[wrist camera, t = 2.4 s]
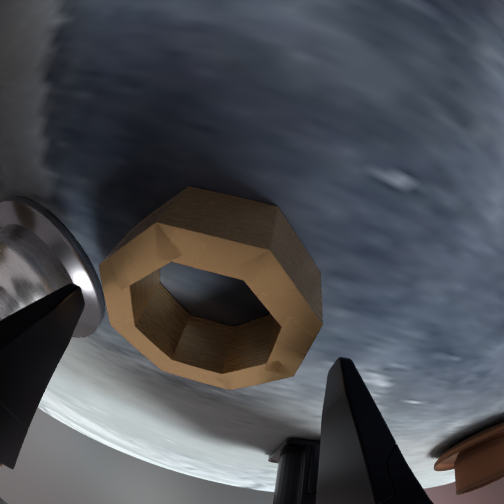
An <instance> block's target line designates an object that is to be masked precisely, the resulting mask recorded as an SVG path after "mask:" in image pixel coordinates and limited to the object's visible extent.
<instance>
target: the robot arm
mask: <svg viewBox="0 0 504 504" xmlns="http://www.w3.org/2000/svg"><path fill="white" fill-rule="evenodd" d="M84 307H85V301H84V297H83V293H82V289H81V287H80V286H78V285H76V284H73V283H70V284H67V285H65V286H63V287H61V288H59V289H58V290H56V291H54V292H52V293H50V294H48V295H46V296H44V297H42V298H40V299H38V300H37V301H35V302H33V303H31V304H29V305H27V306H25V307H24V308H22V309H20V310H18V311H16V312H14V313H13V314H11V315H9V316H7V317H5V318H4V319H2V320H0V463H2V464H3V465H5V466H7V467H9V468H11V469H14V467H15V464H16V461H17V458H18V455H19V452H20V449H21V447H22V444H23V442H24V439H25V436H26V434H27V431H28V428H29V426H30V424H31V421H32V419H33V416H34V414H35V412H36V409H37V407H38V405H39V403H40V400H41V398H42V396H43V394H44V392H45V390H46V387H47V385H48V383H49V381H50V379H51V377H52V375H53V373H54V371H55V369H56V367H57V365H58V363H59V361H60V359H61V357H62V355H63V354H64V352H65V350H66V348H67V346H68V344H69V342H70V340H71V337H72V335H73V333H74V330H75V328H76V326H77V323H78V321H79V319H80V316H81V314H82V312H83V310H84ZM268 461H269V462H273V463H279V464H278V472H277V479H276V485H275V492H274V499H273V504H433V502H432V501H431V500H430V499H429V497H428V496H427V494H426V493H425V491H424V489H423V488H422V486H421V485H420V483H419V482H418V480H417V479H416V477H415V476H414V474H413V472H412V471H411V469H410V467H409V466H408V464H407V462H406V461H405V459H404V457H403V455H402V453H401V451H400V449H399V447H398V445H397V444H396V442H395V440H394V438H393V436H392V434H391V432H390V430H389V428H388V426H387V424H386V422H385V421H384V419H383V417H382V415H381V413H380V411H379V409H378V407H377V406H376V404H375V402H374V400H373V398H372V396H371V394H370V392H369V391H368V389H367V387H366V385H365V383H364V381H363V380H362V378H361V376H360V374H359V372H358V371H357V369H356V367H355V365H354V363H353V361H352V360H351V359H349V358H343V357H339V358H338V359H337V360H336V362H335V363H334V364H333V366H332V367H331V369H330V370H329V373H328V376H327V384H326V391H325V398H324V404H323V411H322V421H321V442H317V441H308V440H299V439H287V440H285V441H284V442H283V443H282V444H281V445H280V446H279V447H278V448H277V449H276V450H275V451H274V452H273V453H272V454H271V455H270V456H269V459H268ZM0 504H7V503H6V502H5V501H4V500H3V499H1V498H0Z"/></svg>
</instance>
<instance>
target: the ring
mask: <svg viewBox="0 0 504 504" xmlns="http://www.w3.org/2000/svg"><path fill="white" fill-rule="evenodd" d="M171 261H172V262H175V263H179V264H183V265H186V266H190V267H194V268H198V269H202V270H205V271H209V272H213V273H217V274H221V275H225V276H229V277H233V278H237V279H241V280H244V282H245V283H246V284H247V285H248V286H249V288H250V289H251V290H252V291H253V293H254V294H255V295H256V296H257V298H258V299H259V300H260V301H261V302H262V304H263V305H264V306H265V307H266V308H267V310H268V311H269V312H270V313H271V314H270V315H267V316H264V317H261V318H258V319H256V320H253V321H250V322H247V323H244V324H241V325H238V326H235V327H233V326H229V325H226V324H222V323H218V322H214V321H210V320H207V319H203V318H199V317H196V316H192V315H190V314H189V313H188V312H187V311H186V310H185V309H184V308H183V307H182V306H181V305H180V304H179V303H178V302H177V301H176V300H175V299H174V297H173V296H172V295H171V294H170V293H169V292H168V291H167V290H166V289H165V288H164V287H163V286H162V285H161V283H160V268H161V267H163V266H164V265H166V264H168V263H170V262H171ZM99 269H100V275H101V281H102V286H103V292H104V297H105V302H106V307H107V311H108V316H109V320H110V324H111V326H112V327H113V328H114V329H115V330H117V331H118V332H119V333H120V334H121V335H122V336H123V337H124V338H125V339H126V340H127V341H128V342H129V343H131V344H132V345H133V346H134V347H135V348H136V349H137V350H138V351H140V352H141V353H142V354H143V355H144V356H145V357H146V358H148V359H149V360H150V361H151V362H152V363H154V364H155V365H156V366H157V367H158V368H160V369H161V370H162V371H165V372H168V373H171V374H175V375H178V376H181V377H184V378H188V379H191V380H195V381H198V382H202V383H205V384H209V385H213V386H217V387H221V388H225V389H229V390H232V389H237V388H242V387H248V386H253V385H257V384H262V383H267V382H271V381H275V380H280V379H284V378H288V377H292V376H294V375H295V373H296V371H297V370H298V368H299V366H300V365H301V363H302V361H303V359H304V358H305V356H306V354H307V352H308V351H309V349H310V347H311V345H312V343H313V342H314V340H315V338H316V336H317V334H318V333H319V331H320V329H321V327H322V325H323V321H322V293H321V273H320V271H319V269H318V268H317V266H316V265H315V263H314V261H313V260H312V258H311V257H310V255H309V254H308V252H307V250H306V249H305V247H304V246H303V244H302V243H301V241H300V239H299V238H298V236H297V235H296V233H295V232H294V230H293V229H292V227H291V226H290V224H289V222H288V221H287V219H286V218H285V216H284V215H283V213H282V212H281V210H280V209H279V207H278V206H274V205H270V204H266V203H262V202H258V201H254V200H249V199H245V198H241V197H237V196H232V195H228V194H223V193H219V192H215V191H210V190H205V189H201V188H196V187H192V186H188V187H187V188H185V189H184V190H183V191H181V192H180V193H178V194H177V195H175V196H174V197H173V198H171V199H170V200H168V201H167V202H166V203H164V204H163V205H162V206H160V207H159V208H157V209H156V210H155V211H153V212H152V213H151V214H149V215H148V216H147V217H145V218H144V219H143V220H141V221H140V222H139V223H137V224H136V225H135V226H134V227H133V228H132V229H131V230H130V231H129V232H128V233H127V234H126V235H125V236H124V237H123V238H122V240H121V241H120V242H119V243H118V244H117V245H116V246H115V247H114V248H113V250H112V251H111V252H110V253H109V254H108V255H107V256H106V258H105V259H104V260H103V261H102V262H101V263H100V264H99Z"/></svg>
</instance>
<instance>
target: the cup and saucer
mask: <svg viewBox="0 0 504 504" xmlns="http://www.w3.org/2000/svg"><path fill="white" fill-rule="evenodd" d="M451 469H455V480H456V494H457V495H461V494H464V493H467V492H470V491H473V490H476V489H478V488H481V487H483V486H486V485H488V484H490V483H492V482H494V481H497V480H499V479H501V478H503V477H504V422H502V423H500V424H497V425H494V426H492V427H490V428H487V429H485V430H483V431H481V432H479V433H477V434H475V435H473V436H471V437H469V438H467V439H465V440H463V441H461V442H460V443H458V444H456V445H455V446H453V447H452V448H450V449H449V450H447V451H446V452H445V453H444V454H442V455H441V456H440V457H439V459H438V460H437V462H436V463H435V465H434V470H435V471H446V470H451Z"/></svg>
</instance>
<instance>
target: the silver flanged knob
mask: <svg viewBox="0 0 504 504" xmlns="http://www.w3.org/2000/svg"><path fill="white" fill-rule="evenodd" d="M70 283H73V284H76V285H78V286H80V287H81V289H82V293H83V297H84V301H85V307H84V310H83V312H82V314H81V316H80V319H79V321H78V323H77V326H76V328H75V330H74V333H73V335H72V337H79V338H80V337H86V336H89V335H91V334H93V333H94V332H95V330H96V329H97V328H98V326H99V325H100V323H101V321H102V319H103V317H104V313H105V300H104V294H103V291H102V287H101V284H100V281H99V279H98V276H97V274H96V272H95V270H94V268H93V266H92V264H91V262H90V260H89V259H88V257H87V255H86V254H85V252H84V251H83V249H82V248H81V246H80V245H79V243H78V242H77V241H76V239H75V238H74V237H73V235H72V234H71V233H70V232H69V231H68V230H67V228H66V227H65V226H64V225H63V224H62V223H61V222H60V221H59V220H58V219H57V218H56V217H55V216H54V215H53V214H51V213H50V212H49V211H48V210H47V209H45V208H44V207H42V206H41V205H39V204H38V203H36V202H34V201H32V200H30V199H27V198H24V197H19V196H13V197H9V198H6V199H4V200H3V201H1V202H0V320H2V319H4V318H5V317H7V316H9V315H11V314H13V313H14V312H16V311H18V310H20V309H22V308H24V307H25V306H27V305H29V304H31V303H33V302H35V301H37V300H38V299H40V298H42V297H44V296H46V295H48V294H50V293H52V292H54V291H56V290H58V289H59V288H61V287H63V286H65V285H67V284H70Z"/></svg>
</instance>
